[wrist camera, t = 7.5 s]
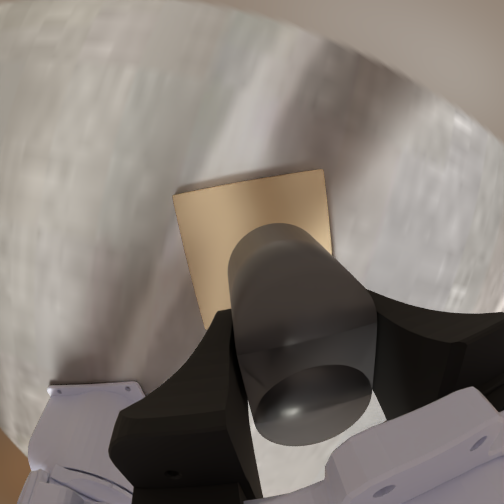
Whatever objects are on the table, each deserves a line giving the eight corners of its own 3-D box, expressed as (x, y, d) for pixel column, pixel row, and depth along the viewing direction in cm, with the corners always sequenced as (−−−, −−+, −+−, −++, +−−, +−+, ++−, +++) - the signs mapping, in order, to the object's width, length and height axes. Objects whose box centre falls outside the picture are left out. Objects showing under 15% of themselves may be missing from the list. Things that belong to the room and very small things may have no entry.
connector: (218, 233, 12) (221, 289, 7) (318, 214, 12) (378, 256, 8) (255, 400, 15) (269, 478, 10) (330, 382, 15) (362, 454, 11)
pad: (205, 324, 21) (205, 329, 21) (173, 194, 18) (172, 196, 18) (332, 298, 22) (335, 302, 21) (320, 169, 19) (323, 169, 18)
